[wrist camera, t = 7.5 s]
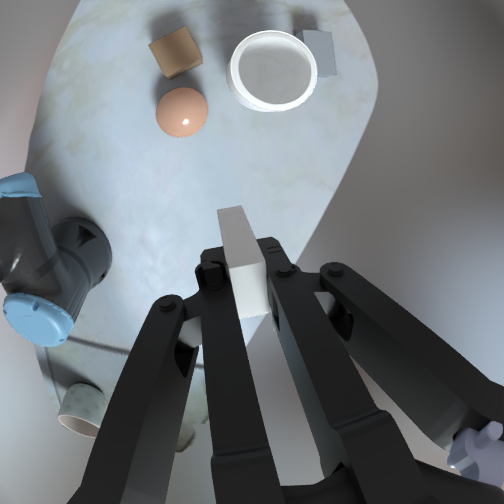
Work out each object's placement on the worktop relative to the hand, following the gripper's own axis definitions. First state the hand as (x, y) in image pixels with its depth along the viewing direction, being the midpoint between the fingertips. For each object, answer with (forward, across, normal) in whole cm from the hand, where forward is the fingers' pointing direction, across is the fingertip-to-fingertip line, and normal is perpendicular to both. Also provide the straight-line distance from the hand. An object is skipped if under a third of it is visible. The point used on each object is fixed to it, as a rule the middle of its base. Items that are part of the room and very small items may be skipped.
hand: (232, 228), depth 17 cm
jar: (+31, +9, +12) cm, 35 cm away
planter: (+33, -56, -63) cm, 91 cm away
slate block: (+31, +19, +16) cm, 40 cm away
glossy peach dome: (+32, -4, +8) cm, 33 cm away
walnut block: (+32, -3, +18) cm, 37 cm away
